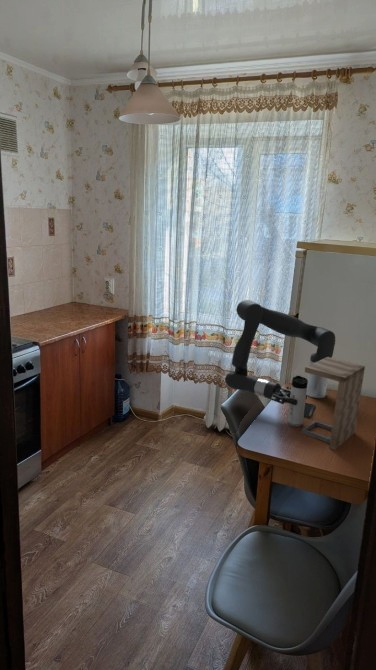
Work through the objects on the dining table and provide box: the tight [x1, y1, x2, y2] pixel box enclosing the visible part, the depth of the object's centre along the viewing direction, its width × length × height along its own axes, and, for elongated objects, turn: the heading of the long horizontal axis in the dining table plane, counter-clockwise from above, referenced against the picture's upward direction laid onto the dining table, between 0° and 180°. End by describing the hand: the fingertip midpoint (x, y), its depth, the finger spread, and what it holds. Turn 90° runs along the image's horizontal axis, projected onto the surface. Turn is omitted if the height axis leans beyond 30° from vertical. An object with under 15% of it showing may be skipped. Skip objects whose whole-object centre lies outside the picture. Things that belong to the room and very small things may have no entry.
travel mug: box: [287, 375, 308, 428], centre depth 189 cm, size 6×7×20 cm
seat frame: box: [300, 420, 333, 444], centre depth 184 cm, size 12×12×2 cm
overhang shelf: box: [304, 357, 366, 451], centre depth 180 cm, size 20×16×28 cm
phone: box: [303, 402, 316, 419], centre depth 206 cm, size 8×1×15 cm
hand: (301, 400), depth 188 cm, fingers open, 8 cm apart
